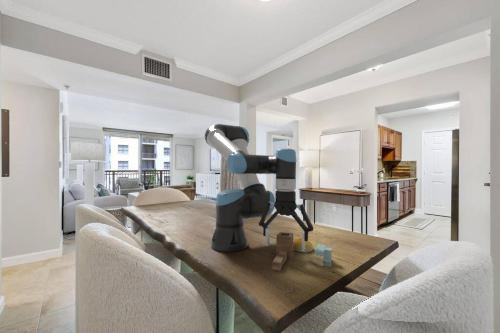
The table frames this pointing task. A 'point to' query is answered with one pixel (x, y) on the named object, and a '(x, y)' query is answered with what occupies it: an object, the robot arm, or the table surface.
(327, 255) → the keeper
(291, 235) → the wooden step block
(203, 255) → the table surface
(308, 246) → the bread roll
